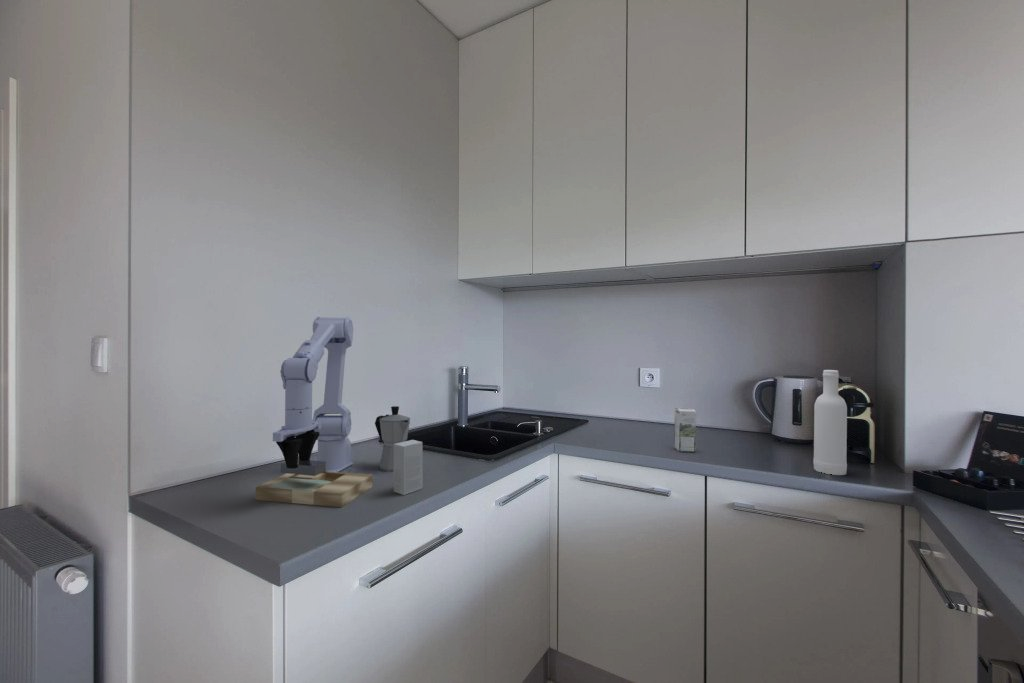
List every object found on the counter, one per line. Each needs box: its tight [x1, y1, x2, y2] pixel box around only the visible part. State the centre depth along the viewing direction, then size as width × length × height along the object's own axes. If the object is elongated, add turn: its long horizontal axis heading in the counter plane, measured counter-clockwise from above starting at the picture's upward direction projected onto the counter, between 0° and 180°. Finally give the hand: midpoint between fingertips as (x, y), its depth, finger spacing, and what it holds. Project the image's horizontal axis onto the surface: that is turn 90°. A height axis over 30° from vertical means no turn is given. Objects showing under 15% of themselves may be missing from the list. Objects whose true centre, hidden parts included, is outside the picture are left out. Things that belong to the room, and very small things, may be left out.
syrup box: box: [673, 407, 697, 453], centre depth 148 cm, size 6×6×14 cm
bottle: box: [812, 369, 848, 476], centre depth 125 cm, size 8×8×30 cm
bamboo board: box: [255, 471, 374, 508], centre depth 103 cm, size 14×22×3 cm, turn 80°
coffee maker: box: [374, 405, 411, 472], centre depth 126 cm, size 15×9×18 cm, turn 56°
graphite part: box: [279, 458, 326, 476], centre depth 100 cm, size 4×9×2 cm, turn 80°
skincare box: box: [393, 439, 424, 496], centre depth 106 cm, size 6×4×12 cm
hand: (298, 465), depth 100 cm, fingers closed on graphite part, 4 cm apart
